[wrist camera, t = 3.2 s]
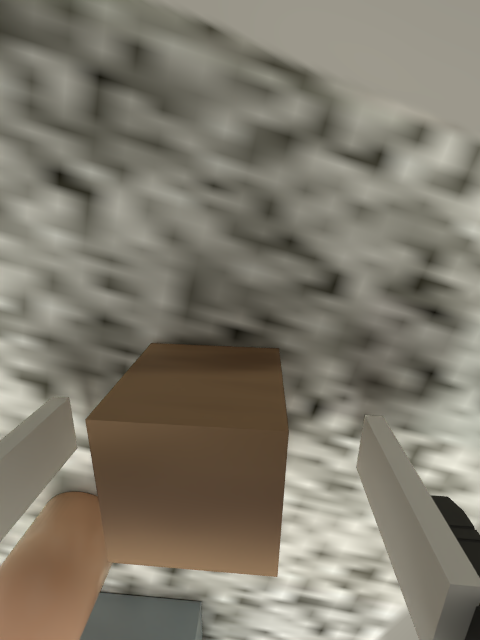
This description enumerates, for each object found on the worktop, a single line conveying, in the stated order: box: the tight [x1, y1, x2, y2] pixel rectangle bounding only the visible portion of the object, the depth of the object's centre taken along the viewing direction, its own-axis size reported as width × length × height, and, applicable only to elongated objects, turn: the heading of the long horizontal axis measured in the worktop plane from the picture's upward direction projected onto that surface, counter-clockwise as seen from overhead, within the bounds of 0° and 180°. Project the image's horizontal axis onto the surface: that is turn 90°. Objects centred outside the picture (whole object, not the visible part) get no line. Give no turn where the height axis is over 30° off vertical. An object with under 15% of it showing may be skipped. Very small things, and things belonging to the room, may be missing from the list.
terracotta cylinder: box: [0, 492, 112, 640], centre depth 16 cm, size 5×5×7 cm
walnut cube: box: [86, 343, 289, 577], centre depth 13 cm, size 6×6×6 cm
